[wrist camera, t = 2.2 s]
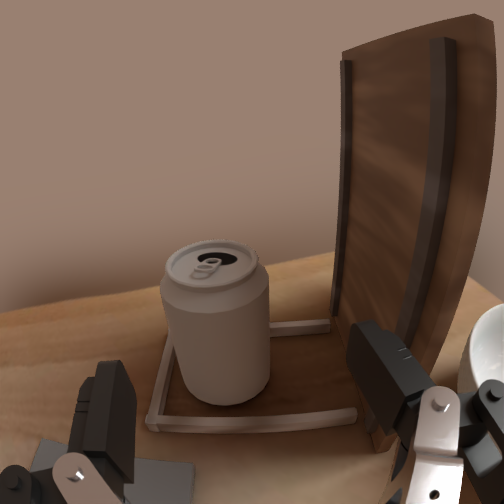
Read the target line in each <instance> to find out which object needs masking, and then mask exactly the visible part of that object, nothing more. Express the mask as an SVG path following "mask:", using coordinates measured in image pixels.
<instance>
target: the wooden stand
mask: <svg viewBox="0 0 504 504" xmlns="http://www.w3.org/2000/svg"><path fill="white" fill-rule="evenodd" d="M496 73H497V72H496V48H495V35H494V24H493V21H491V20H489V19H486V18H484V17H482V16H479V15H477V14H470V15H465V16H460V17H455V18H451V19H447V20H442V21H438V22H434V23H431V24H427V25H423V26H419V27H416V28H412V29H409V30H406V31H402V32H399V33H395V34H392V35H389V36H386V37H383V38H380V39H377V40H374V41H371V42H368V43H365V44H362V45H360V46H357V47H354V48H352V49H349V50H346V51H343V52H342V61H340V75H341V154H340V183H339V203H338V220H337V235H336V249H335V260H334V271H333V281H332V291H331V300H330V309H329V310H330V313H331V316H332V317H334V318H335V321H336V324H337V327H338V330H339V333H340V336H341V339H342V342H343V345H344V348H345V351H347V345H348V340H349V334H350V328H351V325H352V324H353V323H357V322H361V321H365V320H369V319H373V320H374V321H375V322H376V323H377V324H378V326H379V327H380V328H381V330H382V331H383V330H386V329H387V330H389V331H391V332H392V333H394V334H395V335H397V336H398V337H399V338H400V339H401V340H402V341H403V343H404V344H405V345H406V348H408V349H409V350H410V352H411V353H412V356H414V357H415V358H416V360H417V361H418V362H419V363H420V365H421V366H422V367H423V369H424V370H425V371H426V373H427V374H428V375H430V373H431V371H432V369H433V367H434V364H435V362H436V360H437V358H438V355H439V353H440V351H441V348H442V346H443V343H444V341H445V339H446V336H447V334H448V331H449V328H450V326H451V323H452V321H453V318H454V315H455V312H456V310H457V307H458V304H459V301H460V298H461V295H462V292H463V289H464V286H465V283H466V279H467V276H468V273H469V269H470V266H471V262H472V258H473V255H474V251H475V247H476V243H477V239H478V235H479V231H480V226H481V222H482V217H483V212H484V207H485V202H486V196H487V191H488V185H489V178H490V172H491V164H492V156H493V146H494V135H495V122H496V97H497V74H496ZM330 326H331V323H330V320H329V319H318V320H304V321H289V322H271V323H270V337H278V336H294V335H308V334H320V333H330ZM168 332H169V333H168V337H167V340H166V344H165V348H164V351H163V355H162V359H161V363H160V367H159V371H158V375H157V379H156V383H155V387H154V391H153V395H152V399H151V403H150V407H149V412H148V414H147V415H146V419H145V424H146V425H147V427H148V429H149V430H150V431H154V432H160V431H167V432H183V433H216V434H233V433H266V432H283V431H296V430H307V429H316V428H325V427H333V426H340V425H347V424H353V423H355V422H356V419H357V416H358V414H357V410H356V407H353V408H346V409H338V410H330V411H322V412H313V413H302V414H290V415H276V416H256V417H185V416H165V415H163V412H164V407H165V402H166V397H167V392H168V388H169V383H170V378H171V373H172V369H173V364H174V360H175V355H176V352H175V349H174V345H173V341H172V338H171V334H170V330H169V329H168ZM354 380H355V379H354ZM355 383H356V381H355ZM356 386H357V389H358V393H359V396H360V399H361V403H362V406H363V409H364V413H365V416H366V417H365V419H364V423H365V427H366V430H367V434H368V433H370V434H371V437H372V441H373V445H374V448H375V452H376V453H380V452H385V451H388V450H389V449H390V447H391V445H392V444H393V442H394V441H395V439H396V437H397V436H398V434H397V433H394V434H392V435H389V436H387V437H386V435H385V433H384V432H383V430H382V428H381V426H380V424H379V423H378V421H377V419H376V417H375V415H374V413H373V412H372V410H371V408H370V406H369V404H368V403H367V401H366V399H365V397H364V395H363V394H362V392H361V390H360V388H359V386H358V385H357V383H356Z"/></svg>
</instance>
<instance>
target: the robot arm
mask: <svg viewBox="0 0 504 504" xmlns="http://www.w3.org/2000/svg"><path fill="white" fill-rule="evenodd" d="M346 362H347V366H348V368H349V370H350V372H351V374H352V376H353V378H354V379H355V381H356V383H357V385H358V386H359V388H360V390H361V392H362V394H363V395H364V397H365V399H366V401H367V403H368V404H369V406H370V408H371V410H372V412H373V413H374V415H375V417H376V419H377V421H378V423H379V424H380V426H381V428H382V430H383V432H384V433H385V435H386V437H387V436H389V435H392V434H394V433H397V434H398V436H399V438H400V439H399V440H398V444H397V448H396V452H395V456H394V460H393V464H392V468H391V471H390V475H389V479H388V482H387V485H386V488H385V490H384V492H383V494H382V496H381V498H380V500H379V503H378V504H458V501H459V495H460V488H461V481H462V474H463V468H464V470H465V471H466V473H467V475H468V477H469V479H470V481H471V483H472V485H473V487H474V489H475V491H476V493H477V495H478V497H479V499H480V501H481V503H482V504H504V383H503V382H501V381H499V380H495V379H489V380H486V381H484V382H483V383H482V384H481V385H480V387H479V389H478V390H477V391H474V392H468V393H460V394H456V393H455V392H454V391H452V390H451V389H449V388H447V387H443V386H436V385H435V383H434V382H433V381H432V379H431V378H430V377H429V375H428V374H427V373H426V371H425V370H424V369H423V367H422V366H421V365H420V363H419V362H418V361H417V360H416V358H415V357H414V356H412V353H411V352H410V350H409V349H408V348H406V345H405V344H404V343H403V341H402V340H401V339H400V338H399V337H398V336H397V335H395V334H394V333H392V332H391V331H389V330H387V329H386V330H383V331H382V330H381V328H380V327H379V326H378V324H377V323H376V322H375V321H374V320H373V319H369V320H365V321H361V322H357V323H353V324H352V325H351V328H350V334H349V340H348V345H347V351H346ZM77 402H78V403H77V404H76V408H75V414H74V418H73V423H72V428H71V434H70V439H69V445H68V450H67V453H66V454H65V455H63V456H61V457H60V458H59V459H58V460H57V461H56V462H55V464H54V467H52V468H49V469H44V470H40V471H35V472H29V471H27V470H26V469H25V468H24V467H22V466H20V465H11V466H8V467H6V468H5V469H4V470H3V471H2V472H1V474H0V504H132V503H131V502H130V501H129V500H128V498H127V497H126V496H125V495H124V484H134V456H135V427H136V409H137V400H136V394H135V390H134V387H133V385H132V383H131V381H130V379H129V377H128V375H127V372H126V370H125V368H124V366H123V364H122V362H121V361H120V360H114V361H100V362H99V363H98V365H97V369H96V374H95V377H88V378H87V379H86V380H85V382H84V383H83V385H82V386H81V388H80V390H79V395H78V399H77ZM488 432H490V434H491V436H492V437H493V439H494V440H495V442H496V444H497V445H498V447H499V449H500V450H501V453H502V456H501V454H500V453H499V451H498V449H497V448H496V446H495V444H494V443H493V441H492V439H491V438H490V436H489V435H488Z"/></svg>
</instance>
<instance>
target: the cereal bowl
mask: <svg viewBox="0 0 504 504" xmlns="http://www.w3.org/2000/svg"><path fill="white" fill-rule="evenodd" d="M489 379H495V380H499V381H501V382H503V383H504V304H500V305H497V306H495V307H493V308H491V309H490V310H488V311H487V312H485V313H484V314H483V315H482V316H481V317H480V318H479V319H478V321H477V322H476V323H475V325H474V327H473V329H472V330H471V333H470V335H469V337H468V340H467V343H466V345H465V348H464V351H463V353H462V358H461V361H460V367H459V374H458V384H457V392H458V394H460V393H468V392H474V391H477V390H478V389H479V387H480V385H481V384H482V383H483V382H484V381H486V380H489ZM488 435H489V436H490V438H491V439H492V441H493V443H494V444H495V446H496V448H497V449H498V451H499V453H500V454H501V456H502V453H501V450H500V449H499V447H498V445H497V444H496V442H495V440H494V439H493V437H492V436H491V434H490V432H488Z"/></svg>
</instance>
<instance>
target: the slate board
mask: <svg viewBox="0 0 504 504" xmlns="http://www.w3.org/2000/svg"><path fill="white" fill-rule="evenodd" d="M67 450H68V445H66V444H62V443H58V442H55V441H51V440H47V439H44V438H42V439H41V442H40V444H39V447H38V450H37V452H36V455H35V458H34V460H33V463H32V466H31V469H30V471H29V472H35V471H40V470H44V469H49V468H52V467H54V464H55V462H56V461H57V460H58V459H59V458H60V457H61V456H63V455H65V454H66V453H67ZM194 475H195V466H194V464H193V463H186V462H172V461H161V460H151V459H143V458H135V457H134V484H124V495H125V496H126V497H127V498H128V500H129V501H130V502H131V503H132V504H192V498H193V486H194Z"/></svg>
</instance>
